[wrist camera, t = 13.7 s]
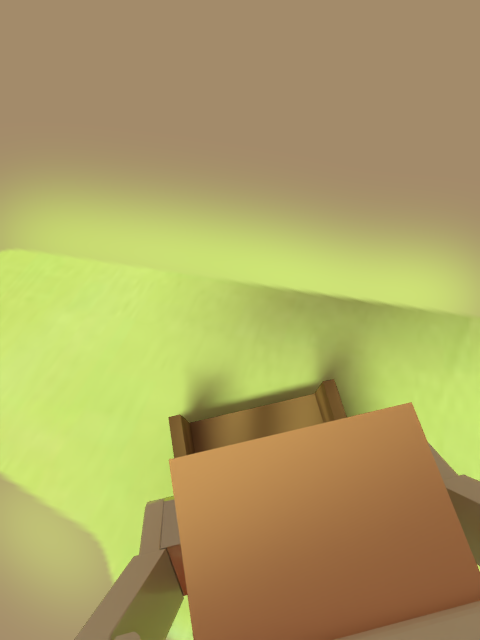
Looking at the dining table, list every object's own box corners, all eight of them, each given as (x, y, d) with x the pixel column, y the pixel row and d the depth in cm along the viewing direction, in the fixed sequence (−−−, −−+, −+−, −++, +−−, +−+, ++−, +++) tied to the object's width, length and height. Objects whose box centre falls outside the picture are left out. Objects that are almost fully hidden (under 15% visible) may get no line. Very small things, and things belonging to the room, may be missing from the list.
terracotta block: (329, 443, 16) (411, 402, 8) (357, 533, 15) (491, 600, 6) (213, 471, 16) (169, 459, 7) (230, 565, 14) (199, 679, 6)
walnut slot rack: (330, 392, 31) (343, 376, 26) (383, 560, 26) (412, 578, 21) (173, 429, 30) (158, 419, 26) (200, 607, 26) (187, 636, 21)
